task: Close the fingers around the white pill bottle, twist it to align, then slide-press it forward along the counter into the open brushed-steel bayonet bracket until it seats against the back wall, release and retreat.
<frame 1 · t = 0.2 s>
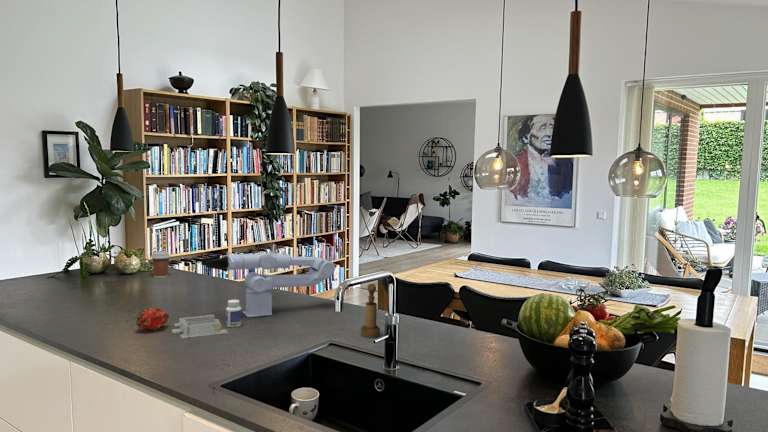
hand: (203, 263, 197), 21 cm above the worktop, tool horizontal, fingers open, 7 cm apart
pill bottle: (233, 325, 194), on the worktop
socket: (201, 328, 189), on the worktop
dragon fruit: (153, 329, 187), on the worktop
coffee cup: (160, 276, 270), on the worktop
brown wooden tall piece: (370, 335, 188), on the worktop
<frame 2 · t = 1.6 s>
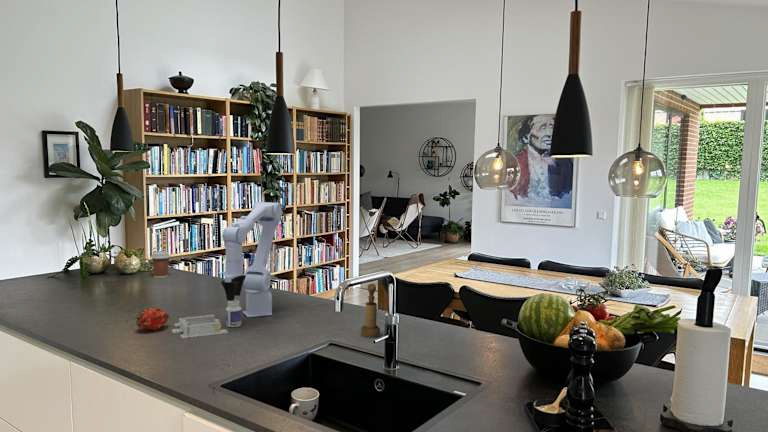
hand: (233, 298, 193), 10 cm above the worktop, tool pointing down, fingers open, 7 cm apart
nothing on the worktop moved.
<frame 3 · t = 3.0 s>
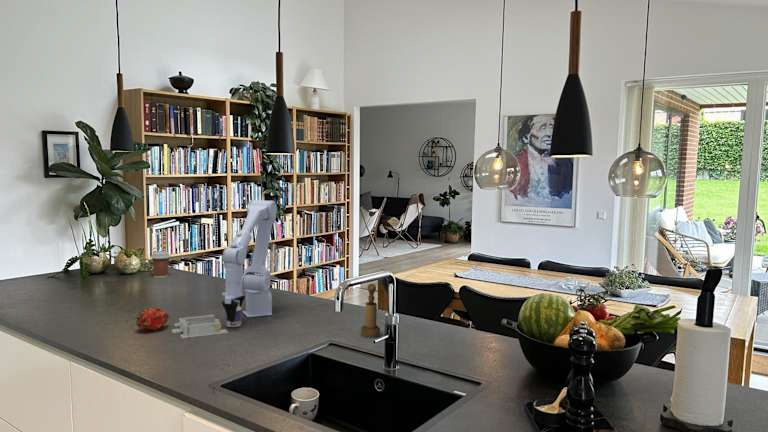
hand: (233, 318, 194), 2 cm above the worktop, tool pointing down, fingers closed on pill bottle, 5 cm apart
pill bottle: (233, 325, 194), on the worktop, touching gripper
everything else where it was.
when the fingers open (2 cm above the worktop, at t = 4.5 s): pill bottle moves 5 cm, on the worktop.
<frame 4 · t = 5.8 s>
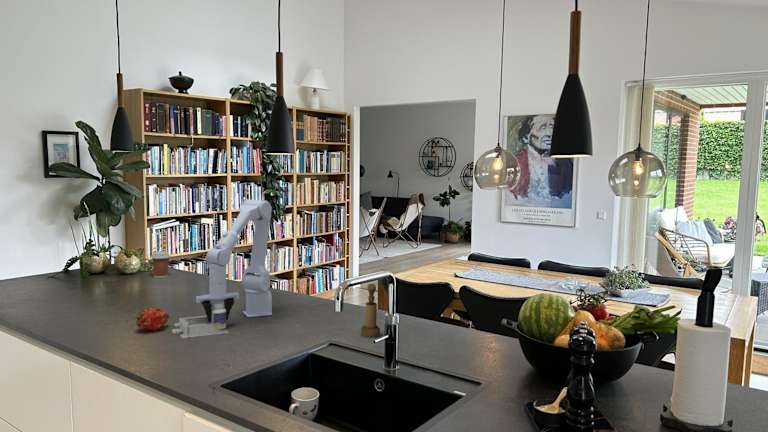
hand: (217, 320, 191), 2 cm above the worktop, tool pointing down, fingers open, 5 cm apart
pill bottle: (218, 328, 191), on the worktop, touching gripper
everything else where it was.
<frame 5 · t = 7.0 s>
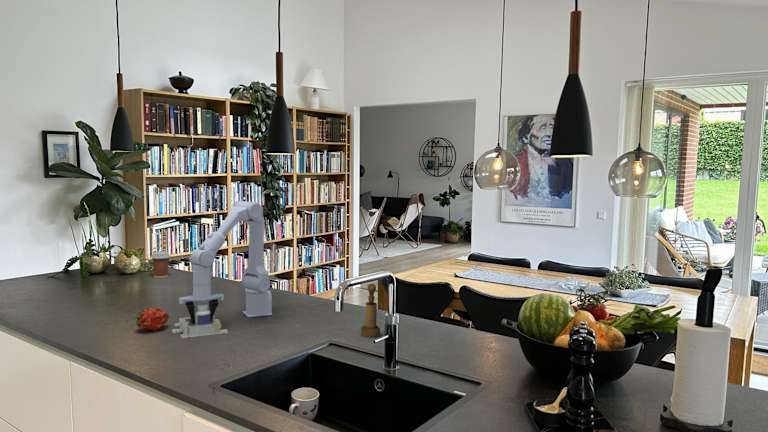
hand: (201, 322, 189), 2 cm above the worktop, tool pointing down, fingers open, 5 cm apart
pill bottle: (202, 330, 188), on the worktop, touching gripper
everything else where it was.
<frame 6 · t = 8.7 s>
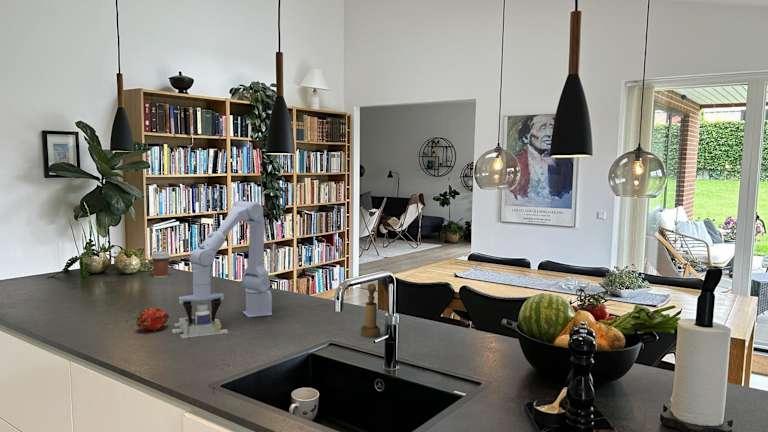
hand: (201, 321, 189), 3 cm above the worktop, tool pointing down, fingers open, 7 cm apart
pill bottle: (202, 330, 188), on the worktop
everything else where it was.
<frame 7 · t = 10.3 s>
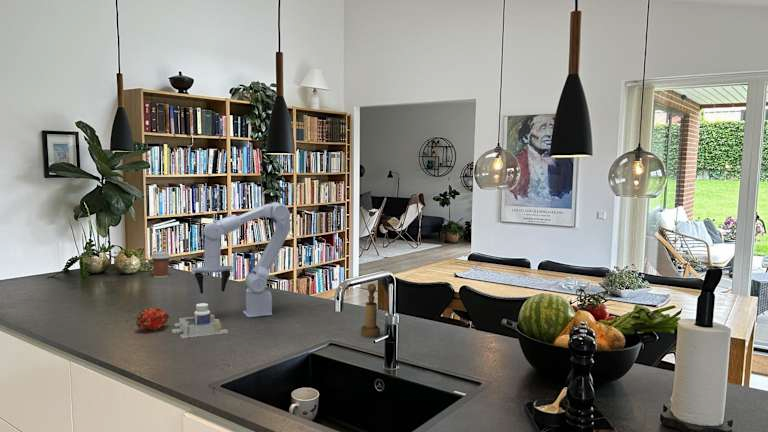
hand: (212, 291, 201), 10 cm above the worktop, tool pointing down, fingers open, 7 cm apart
nothing on the worktop moved.
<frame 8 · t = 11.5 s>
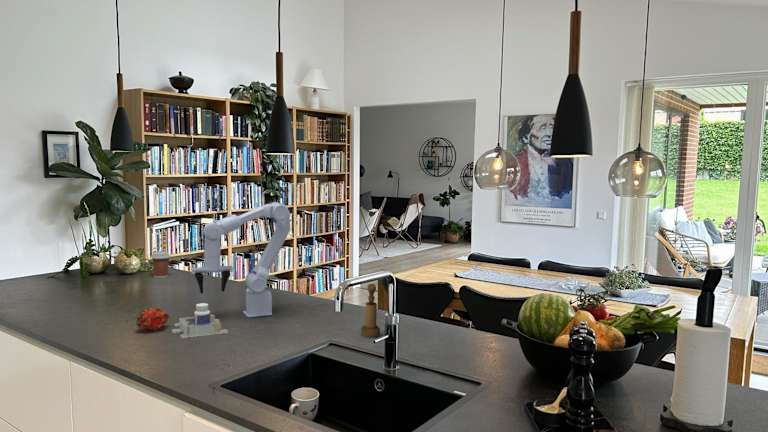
hand: (212, 291, 201), 10 cm above the worktop, tool pointing down, fingers open, 7 cm apart
nothing on the worktop moved.
at the end: pill bottle 1.0 cm off-centre on the socket, point 0.0 cm above the socket's base; pill bottle tilted 0°; the gripper is holding nothing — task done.
